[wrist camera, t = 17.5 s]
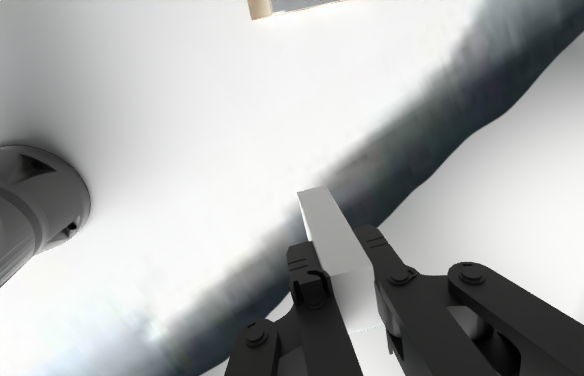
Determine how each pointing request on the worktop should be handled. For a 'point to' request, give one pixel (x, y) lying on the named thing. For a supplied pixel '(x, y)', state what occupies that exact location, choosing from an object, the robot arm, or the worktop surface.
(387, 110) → the worktop surface
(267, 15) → the rail board
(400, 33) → the worktop surface
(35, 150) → the robot arm
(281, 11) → the grey tray
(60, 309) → the worktop surface
